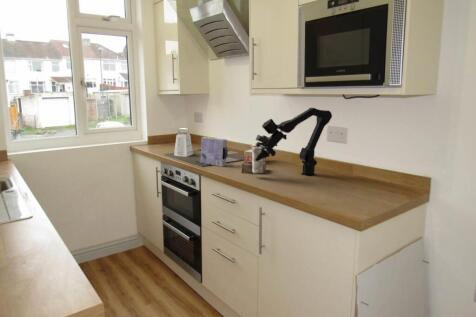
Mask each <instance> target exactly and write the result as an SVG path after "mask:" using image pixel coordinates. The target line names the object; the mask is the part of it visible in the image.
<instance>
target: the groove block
mask: <svg viewBox="0 0 476 317" xmlns="http://www.w3.org/2000/svg"><path fill="white" fill-rule="evenodd" d="M266 170H267V162H266V161H264V162H263V173H253V172H252V161H245V162H244V161H243V163H242V164H241V173H243V174H255V175H258V174H259V175H264V174H265V172H266Z"/></svg>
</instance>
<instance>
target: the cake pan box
mask: <svg viewBox="0 0 476 317" xmlns="http://www.w3.org/2000/svg"><path fill="white" fill-rule="evenodd" d="M200 145H201V146H200V148H201V149H200V164H204V165H205V164H206V165H209V164H211V165H210V166H216V167H221V168H222V167H226V166H227V157H228V154H229V153H228V139H224V138H217V137H208V136H202V137H201V143H200Z"/></svg>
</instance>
